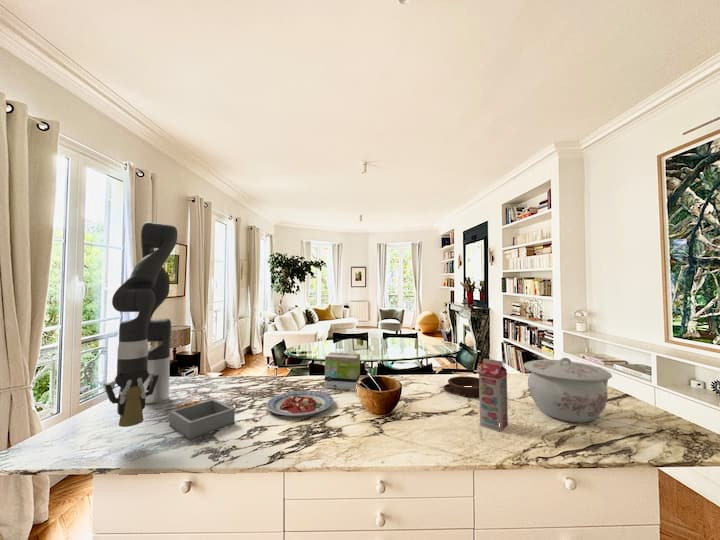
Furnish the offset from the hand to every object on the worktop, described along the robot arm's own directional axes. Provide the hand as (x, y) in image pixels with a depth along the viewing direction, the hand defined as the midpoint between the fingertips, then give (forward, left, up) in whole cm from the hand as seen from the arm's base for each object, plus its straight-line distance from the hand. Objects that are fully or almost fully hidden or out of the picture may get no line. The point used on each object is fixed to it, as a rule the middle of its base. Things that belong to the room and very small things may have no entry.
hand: (131, 412), depth 97 cm
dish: (+60, +110, -10) cm, 126 cm away
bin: (+2, +20, -10) cm, 22 cm away
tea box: (+11, +81, -10) cm, 82 cm away
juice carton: (+79, +82, -10) cm, 115 cm away
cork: (0, 0, -3) cm, 3 cm away
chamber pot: (+97, +108, -10) cm, 146 cm away
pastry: (-12, +21, -10) cm, 27 cm away
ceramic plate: (+15, +52, -10) cm, 55 cm away
